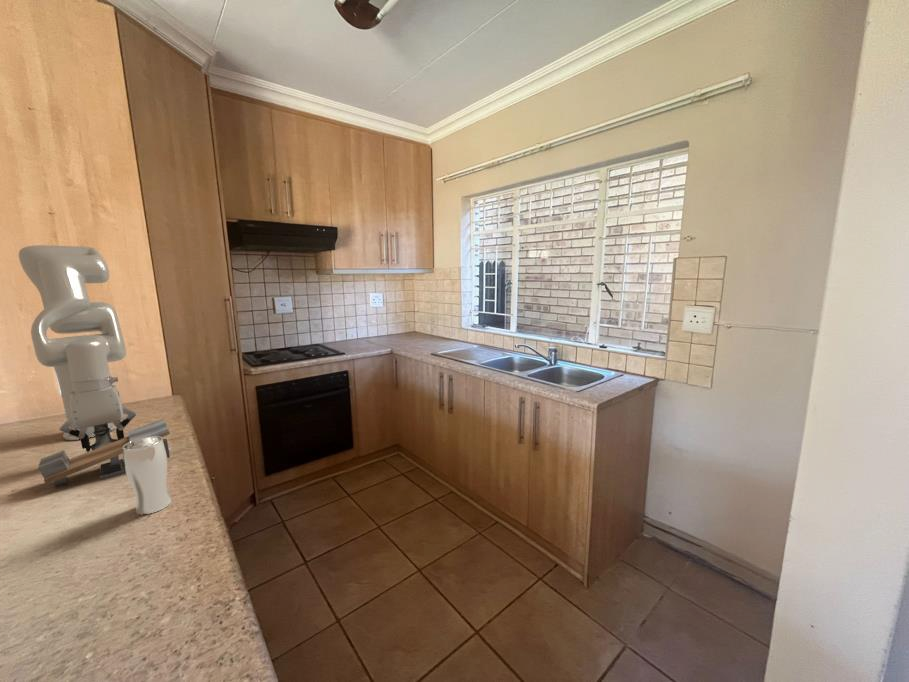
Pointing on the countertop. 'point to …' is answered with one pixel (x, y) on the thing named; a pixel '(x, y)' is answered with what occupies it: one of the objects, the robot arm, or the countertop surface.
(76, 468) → the beam
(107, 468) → the beam stand
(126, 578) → the countertop surface
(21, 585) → the countertop surface
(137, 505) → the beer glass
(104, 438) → the chess piece
